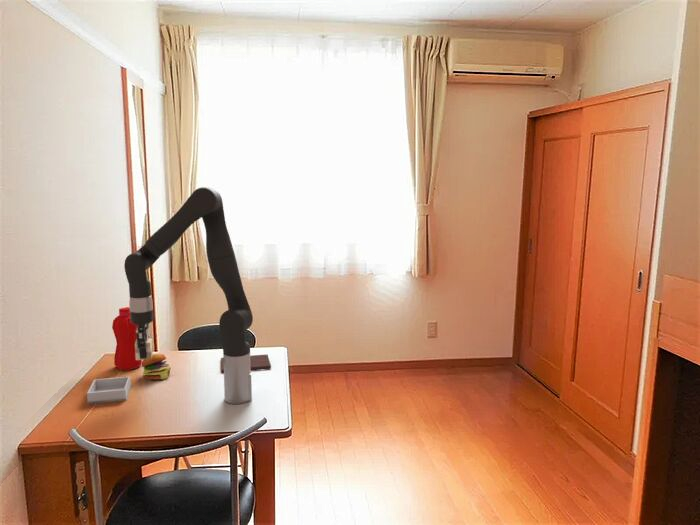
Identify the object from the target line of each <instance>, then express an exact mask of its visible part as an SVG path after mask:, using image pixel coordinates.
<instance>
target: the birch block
mask: <svg viewBox="0 0 700 525" xmlns="http://www.w3.org/2000/svg"><path fill="white" fill-rule="evenodd" d="M152 339H153V338H150V337H149V338H148V341H147V342H146V346H147V347H146V351H147V358H144V359H140V352H139V348H138V347H137V346H138V344H137V339H136V342H135V355H136V360H142V361H143V360H145V359H151V358H152V355H154V353H153V340H152ZM140 345H144V343H143V342H142V343H140Z"/></svg>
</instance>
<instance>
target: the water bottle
mask: <svg viewBox="0 0 700 525" xmlns="http://www.w3.org/2000/svg"><path fill="white" fill-rule="evenodd" d="M111 326H112V331H113V334H114V338H115V341H116V347H115V353H114V366H115V368H116V369H118V370H120V371H122V370H127V371H130V370H133V369H137V368H140V366H141V367H142V361H143V360H136V355H135V342H136V339H137V335H136V334H137V333H136V329H137V326H138V325H137V324H132V323H131V322H130V307H129V306H125V307H121V308H118V315H116V317H115V318H114V319H113V321H112V325H111Z"/></svg>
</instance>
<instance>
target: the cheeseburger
mask: <svg viewBox="0 0 700 525" xmlns="http://www.w3.org/2000/svg"><path fill="white" fill-rule="evenodd" d="M166 359H167V357H166V356H165V354H162V353H155V354H154V353H153V355H152V358H151V359H145V360H142V364H141V368H143V372H142V374H143V376H144V377H145V378H146V380H166V379H167V378H168V376H169V375H170V374H171V370H172V366H170V364H168V362H167V360H166Z"/></svg>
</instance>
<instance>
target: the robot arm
mask: <svg viewBox="0 0 700 525" xmlns="http://www.w3.org/2000/svg"><path fill="white" fill-rule="evenodd" d="M224 211H225V210H224V203H223V198H222V196H221V193H219V191H217V190H216V189H215V188H213V187H206V186H204V187H203V186H202V187H198V188H196V189H195V190H193V192H191V194H190V196H189V197H188V198H187V200H186V201H185V202H184V203H183V205H182V206H181V207H180V208H179V209H178V210H177V211H176V212H175V214H174V215H173V216H172V217H171V218H170V219H168V221H166V222H165V223H164V224H162V226H160V228H159V229H157V230H156V231H155V232H154V233H153V234H151V236H150V237H148V239H147V240H146V242H145V244H144V245H142V246H141V247H140V248H139V249H138V250H136V251H135V252H132V253H130V254H128V255H127V256H126V257H125V260H124V266H123V267H124V272H125V276H126V280H127V283H128V290H129V291H128V292H129V293H128V294H129V305H128V307H130V322H131V323H132V324H137V325H138V326H137V329H136V333H137V334H136V335H137V344H138V346H137V347H138V348H139V352H140V359H144V358H147V351H146V347H147V346H146V342H147V341H148V338H150V325H149V324H150V323H152V322H154V319H155V318H154V317H155V316H154V303H153V302H154V301H153V298H152V285H151V284H152V283H151V281H150V280H149V278H147V272H146V271H147V270H148V269H149V268H151V267H152V266H153V265H154V264H155V263H156V262H157V261H158V260H159V258H160V257H161V256H162V255H164V254H165V253H166V252H167V251H168V250H170V249H171V248H172V247H173V246H174V245H175V244H176V243H177V242H178V241H179V240H180V238H181V237H182V236H183V235H184V234H185V232H186V231H187V230H188V229H189V228H190V227H191V226H192V225H193V224H194V223H196V221H198V220H200V219H201V218H202V222H203V224H204V229H205V235H206V236H205V242H206V243H205V251H206V257H207V258H206V260H207V262H208V266H209V270H210V274H211V276H212V277H213V279H214V281H215V282H216V284H217V285H218V286H219V287H220V288H221V290H222V291H223V292H222V293H223V294H224V296H225V300H226V304H227V309H228V310H225V311H224V312H223V313H222V314H221V315H220V318H219V322H218V324H219V325H218V326H219V327H218V328H219V339H220V340H219V341H220V346H221V349H222V355H223V356H222V358H223V361H224V373H223V388H224V393H223V394H224V401H225V402H226V403H228V404H231V405H233V404H234V405H241V404H244V403H247V402H251V401H252V400H253V393H252V388H253V387H252V371H251V367H250V356H251V345H250V343H249V341H248V342H247V341H246V331H247V330H248V329H249V328H250V327H251V326H252V324H253V318H254V317H253V312H252V310H251V306H250V303H249V301H248V299H247V296H246V293H245V290H244V286H243V282H242V277H241V274H240V271H239V267H238V263H237V258H236V254H235V251H234V247H233V244H232V243H233V242H232V240H231V236H230V233H229V230H228V228H227V222H226V218H225V217H226V216H225V212H224ZM142 342H143V343H144V345H140V343H142Z"/></svg>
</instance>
